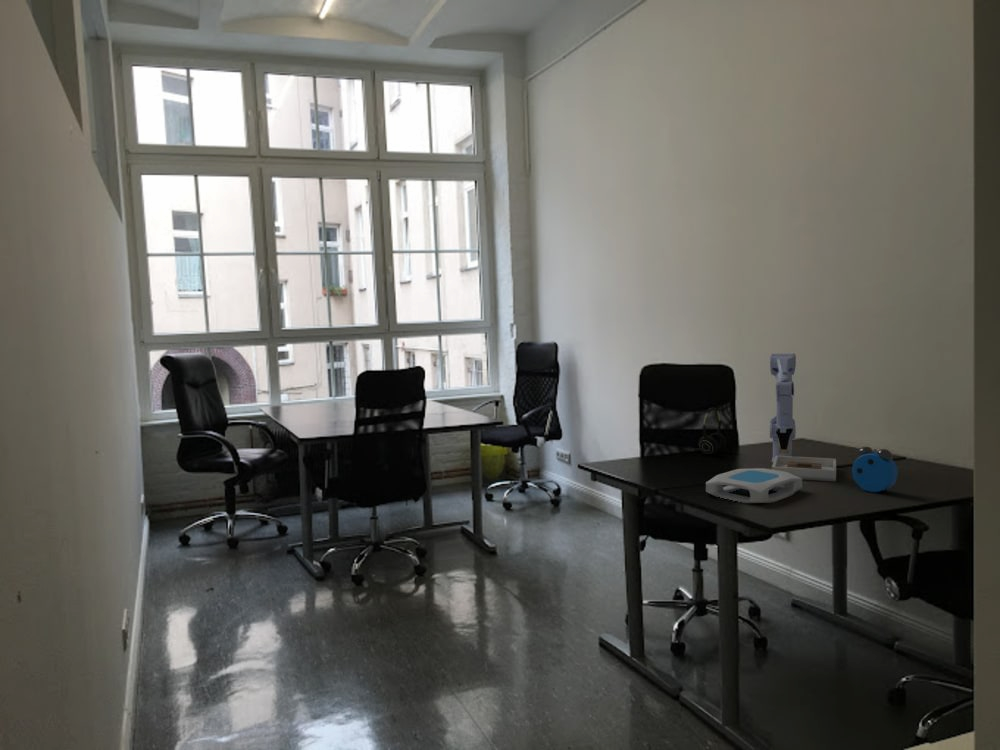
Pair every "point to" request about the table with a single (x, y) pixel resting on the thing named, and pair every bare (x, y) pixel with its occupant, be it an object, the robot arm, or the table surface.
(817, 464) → the bore plate
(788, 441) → the peg
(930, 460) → the table surface
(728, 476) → the white and blue housing
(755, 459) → the table surface
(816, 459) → the tray
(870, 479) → the alarm clock
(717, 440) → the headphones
